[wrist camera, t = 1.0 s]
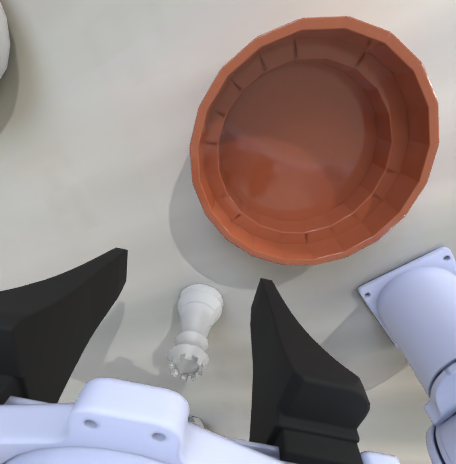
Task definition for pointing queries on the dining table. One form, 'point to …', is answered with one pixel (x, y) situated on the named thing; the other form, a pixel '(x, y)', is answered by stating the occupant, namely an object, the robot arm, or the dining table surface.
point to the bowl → (314, 140)
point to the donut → (3, 42)
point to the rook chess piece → (194, 330)
